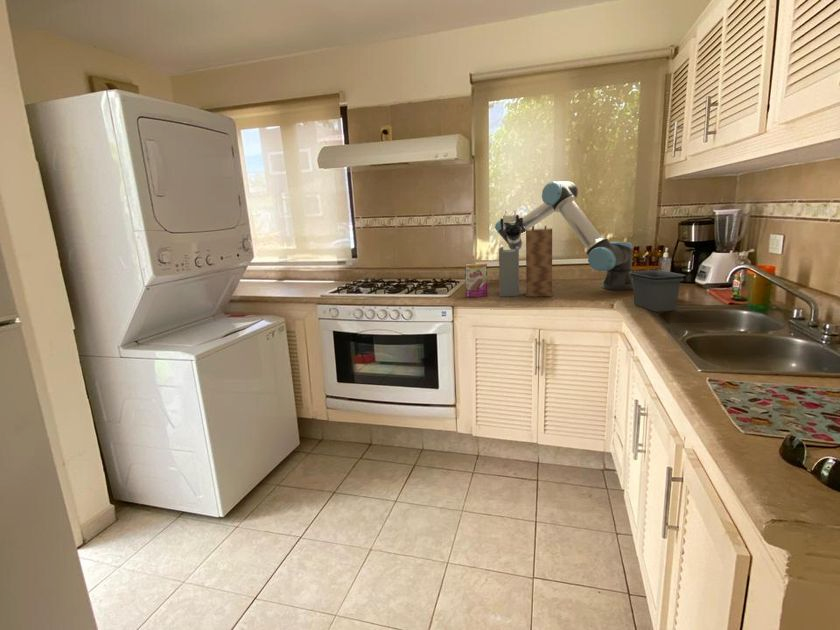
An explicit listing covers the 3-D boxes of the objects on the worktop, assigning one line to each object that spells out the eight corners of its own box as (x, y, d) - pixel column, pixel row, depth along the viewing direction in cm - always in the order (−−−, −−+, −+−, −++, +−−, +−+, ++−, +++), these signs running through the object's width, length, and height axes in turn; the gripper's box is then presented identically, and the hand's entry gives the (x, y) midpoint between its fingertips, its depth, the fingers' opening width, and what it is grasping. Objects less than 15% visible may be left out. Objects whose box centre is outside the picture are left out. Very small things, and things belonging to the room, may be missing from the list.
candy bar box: (465, 297, 231) (464, 265, 227) (465, 295, 236) (464, 264, 232) (488, 296, 230) (487, 264, 226) (487, 295, 235) (486, 263, 231)
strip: (515, 220, 238) (515, 215, 238) (511, 222, 218) (511, 215, 217) (507, 221, 239) (507, 215, 239) (503, 222, 219) (503, 216, 218)
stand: (551, 292, 232) (552, 225, 224) (551, 296, 220) (552, 226, 213) (527, 292, 235) (526, 226, 227) (526, 296, 224) (525, 227, 216)
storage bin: (624, 304, 196) (625, 270, 193) (658, 301, 197) (660, 268, 194) (653, 314, 175) (655, 277, 172) (691, 311, 176) (694, 274, 173)
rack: (519, 291, 239) (518, 246, 234) (517, 295, 227) (517, 248, 222) (501, 291, 241) (501, 247, 236) (499, 296, 230) (498, 249, 225)
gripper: (529, 239, 249) (527, 218, 227) (497, 240, 253) (492, 220, 232) (529, 227, 251) (527, 205, 229) (498, 228, 255) (493, 207, 234)
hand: (510, 213), depth 231 cm, fingers closed on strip, 4 cm apart
